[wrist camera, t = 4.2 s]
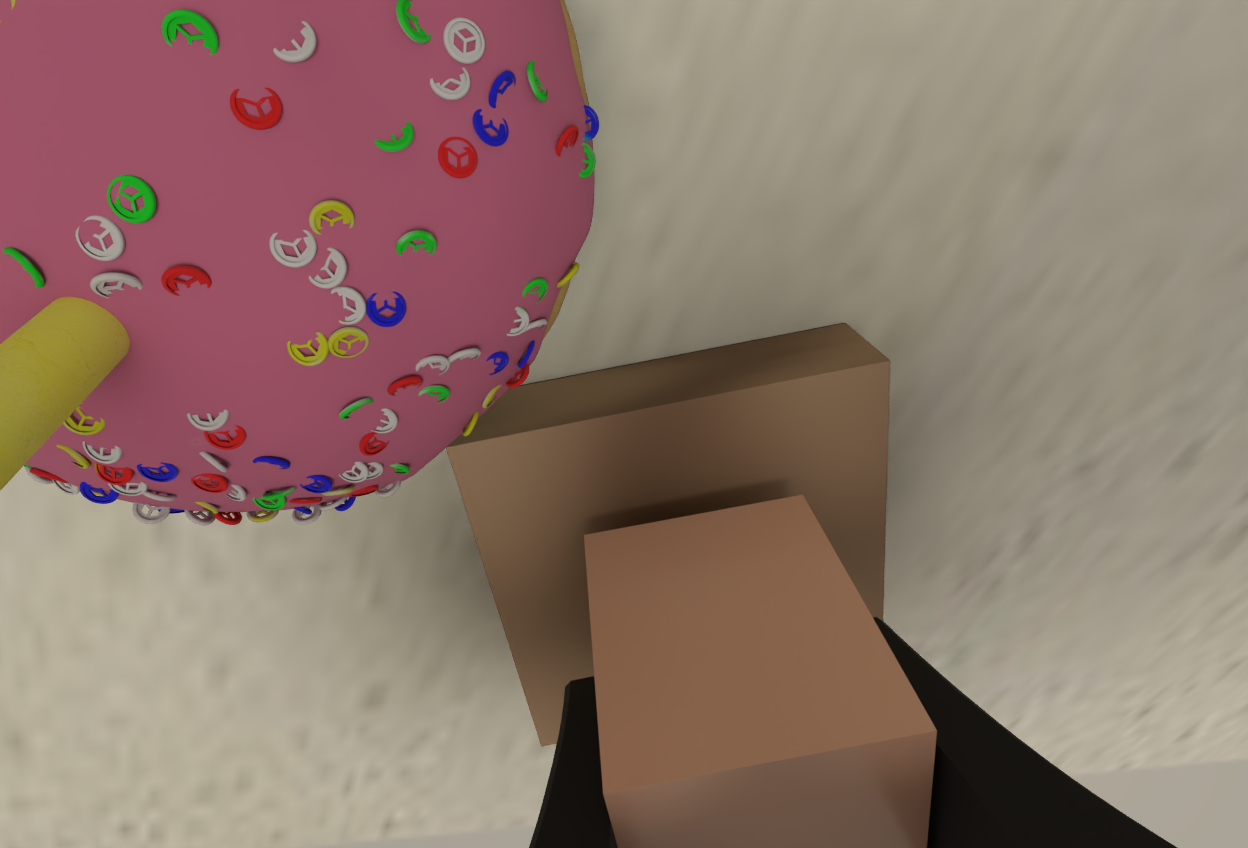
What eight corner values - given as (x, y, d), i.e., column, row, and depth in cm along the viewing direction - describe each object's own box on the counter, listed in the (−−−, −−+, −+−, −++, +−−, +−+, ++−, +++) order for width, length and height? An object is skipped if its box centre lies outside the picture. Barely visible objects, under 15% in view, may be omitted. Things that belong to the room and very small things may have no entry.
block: (809, 652, 15) (921, 912, 10) (618, 687, 15) (649, 964, 10) (803, 494, 13) (937, 731, 8) (583, 535, 13) (602, 792, 8)
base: (845, 323, 14) (889, 360, 13) (847, 614, 18) (881, 674, 16) (455, 398, 14) (445, 447, 12) (540, 678, 18) (541, 746, 16)
